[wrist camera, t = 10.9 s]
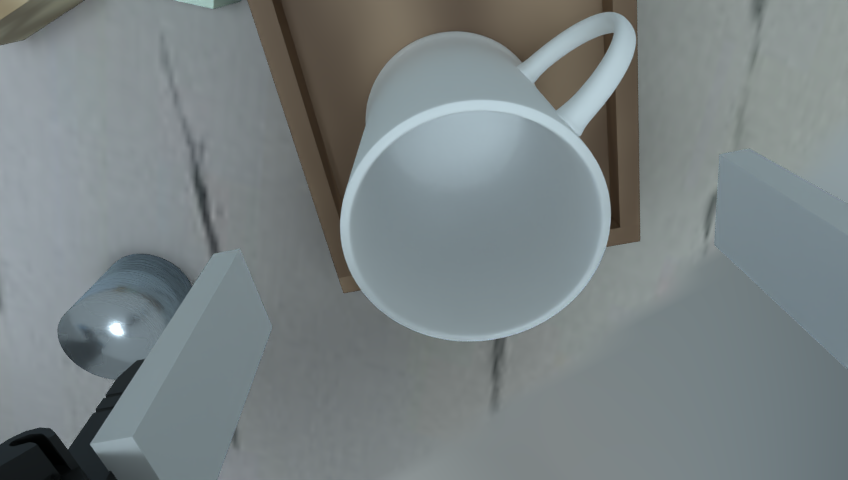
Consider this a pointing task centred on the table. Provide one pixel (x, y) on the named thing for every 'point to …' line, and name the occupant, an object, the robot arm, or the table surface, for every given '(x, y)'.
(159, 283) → the grey tin
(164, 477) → the robot arm
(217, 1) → the sage block
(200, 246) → the table surface
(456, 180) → the mug
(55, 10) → the oak block
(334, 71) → the tray
